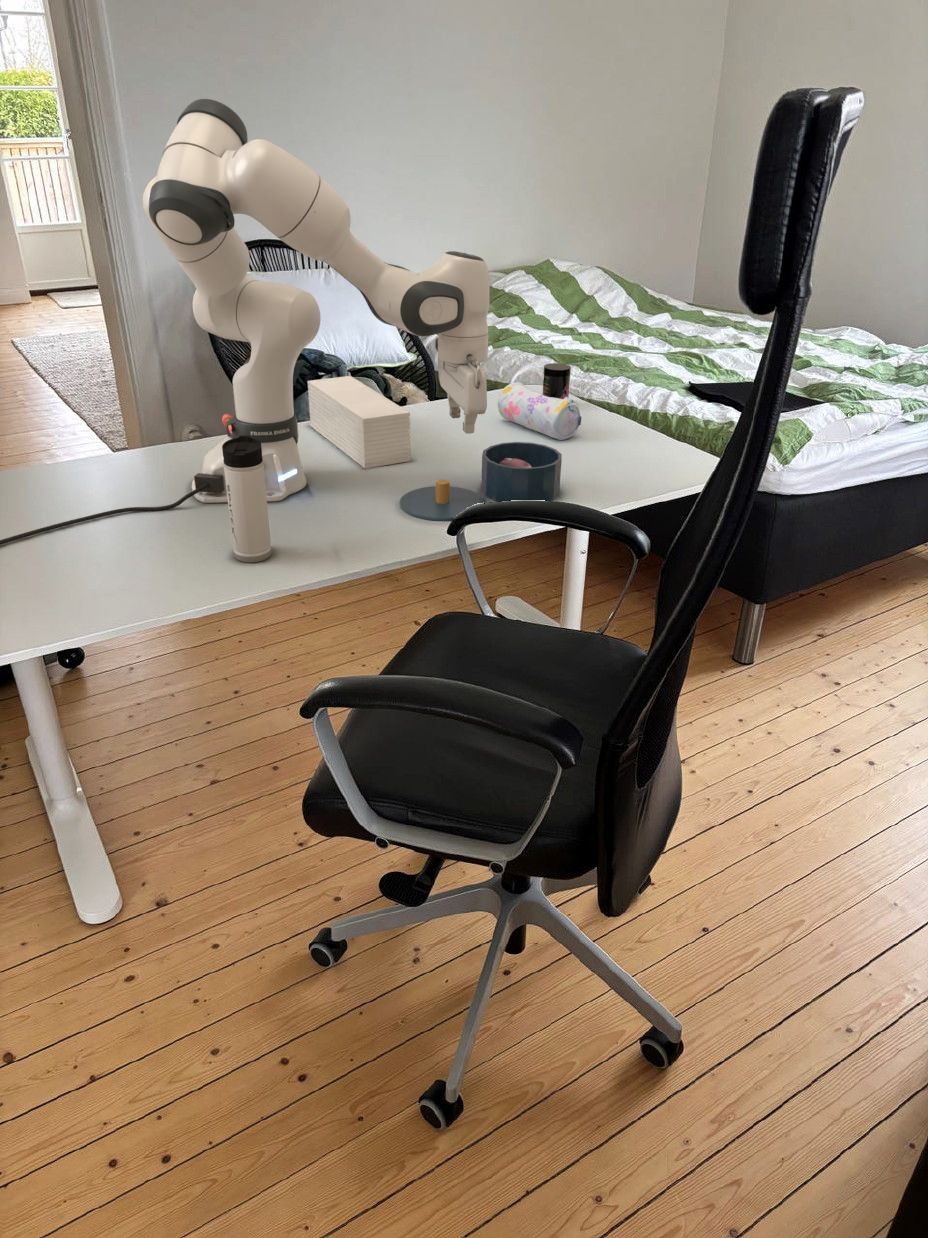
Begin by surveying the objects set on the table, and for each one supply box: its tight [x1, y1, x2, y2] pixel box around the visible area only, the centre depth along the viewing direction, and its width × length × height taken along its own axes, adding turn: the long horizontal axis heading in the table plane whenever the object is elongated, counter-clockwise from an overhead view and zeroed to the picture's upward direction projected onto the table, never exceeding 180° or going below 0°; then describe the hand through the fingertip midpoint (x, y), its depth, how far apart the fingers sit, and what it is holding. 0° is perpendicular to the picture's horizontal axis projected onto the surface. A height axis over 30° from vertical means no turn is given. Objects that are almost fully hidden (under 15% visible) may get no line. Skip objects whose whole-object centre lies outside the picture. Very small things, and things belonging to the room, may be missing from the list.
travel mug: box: [222, 435, 272, 564], centre depth 153 cm, size 6×7×20 cm
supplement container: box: [541, 362, 572, 399], centre depth 234 cm, size 7×7×10 cm
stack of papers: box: [307, 375, 411, 469], centre depth 207 cm, size 32×11×11 cm, turn 29°
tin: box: [480, 441, 563, 503], centre depth 183 cm, size 15×15×8 cm
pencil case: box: [497, 381, 582, 441], centre depth 218 cm, size 21×9×10 cm, turn 41°
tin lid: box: [399, 478, 486, 522], centre depth 177 cm, size 16×16×5 cm
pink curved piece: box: [499, 458, 532, 468], centre depth 184 cm, size 10×5×7 cm, turn 40°
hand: (461, 424), depth 172 cm, fingers open, 8 cm apart
